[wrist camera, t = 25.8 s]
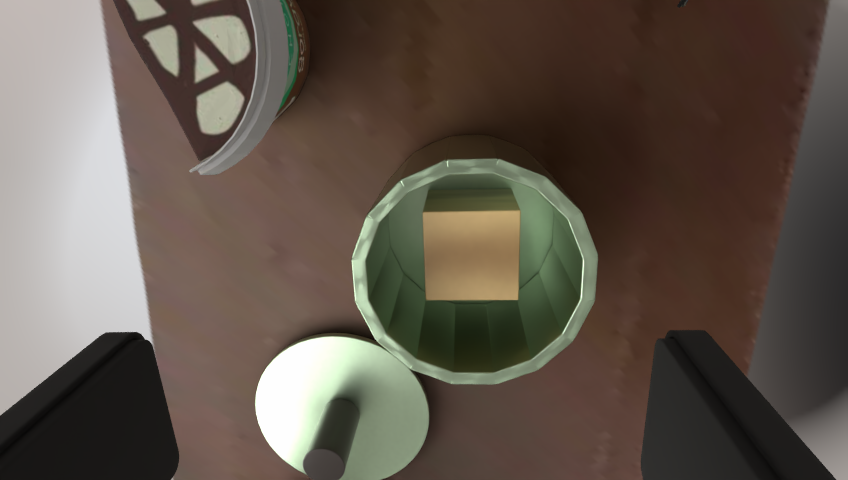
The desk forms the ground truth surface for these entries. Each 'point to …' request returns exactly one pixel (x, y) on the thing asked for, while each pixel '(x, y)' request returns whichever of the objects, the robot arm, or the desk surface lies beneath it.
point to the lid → (342, 408)
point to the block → (471, 244)
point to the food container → (222, 67)
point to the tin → (475, 319)
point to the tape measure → (682, 3)
